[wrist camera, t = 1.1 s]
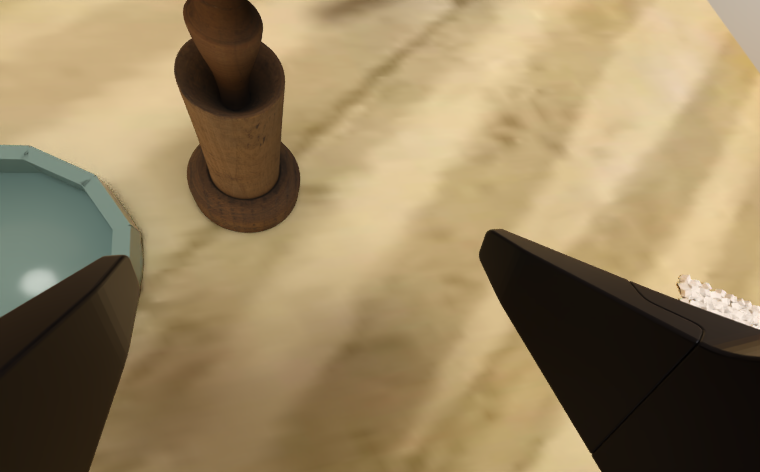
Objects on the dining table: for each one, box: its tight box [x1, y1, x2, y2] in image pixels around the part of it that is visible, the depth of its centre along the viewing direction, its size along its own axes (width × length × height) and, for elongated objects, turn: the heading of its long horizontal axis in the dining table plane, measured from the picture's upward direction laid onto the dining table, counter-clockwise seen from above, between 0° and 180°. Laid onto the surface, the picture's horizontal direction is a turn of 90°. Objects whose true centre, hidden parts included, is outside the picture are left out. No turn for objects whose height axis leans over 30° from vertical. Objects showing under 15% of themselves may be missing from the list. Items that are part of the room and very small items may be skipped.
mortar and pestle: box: [174, 0, 300, 232], centre depth 15 cm, size 7×6×18 cm
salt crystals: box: [678, 275, 760, 329], centre depth 32 cm, size 20×20×2 cm
